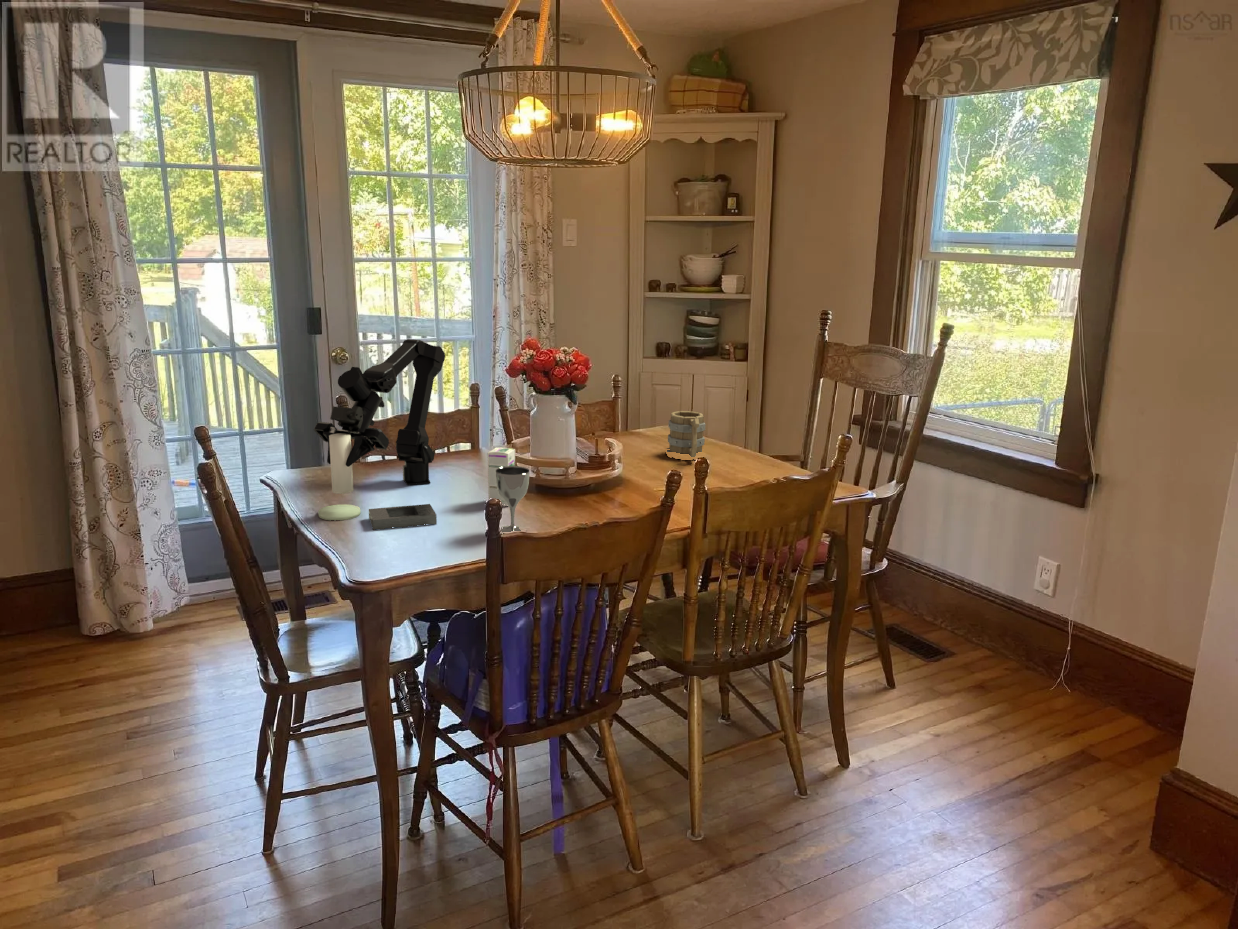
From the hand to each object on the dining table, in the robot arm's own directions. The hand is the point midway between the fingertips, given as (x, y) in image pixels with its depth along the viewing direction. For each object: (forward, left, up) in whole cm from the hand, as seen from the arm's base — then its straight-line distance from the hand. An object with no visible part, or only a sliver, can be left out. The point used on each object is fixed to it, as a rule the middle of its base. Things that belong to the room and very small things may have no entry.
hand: (337, 464), depth 216 cm
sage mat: (0, -2, -13) cm, 14 cm away
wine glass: (-38, +22, -14) cm, 46 cm away
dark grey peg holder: (-14, +8, -13) cm, 21 cm away
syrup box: (-41, 0, -14) cm, 43 cm away
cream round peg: (-1, -1, -7) cm, 7 cm away
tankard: (-110, -30, -14) cm, 115 cm away
